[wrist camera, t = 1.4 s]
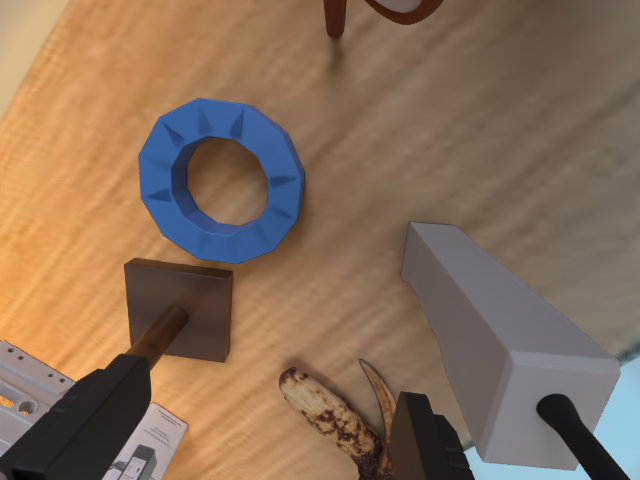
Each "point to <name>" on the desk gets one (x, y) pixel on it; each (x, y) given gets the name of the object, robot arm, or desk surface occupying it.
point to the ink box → (149, 447)
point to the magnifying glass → (393, 3)
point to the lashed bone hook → (345, 420)
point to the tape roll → (177, 204)
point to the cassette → (25, 392)
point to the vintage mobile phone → (511, 357)
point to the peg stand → (178, 310)
